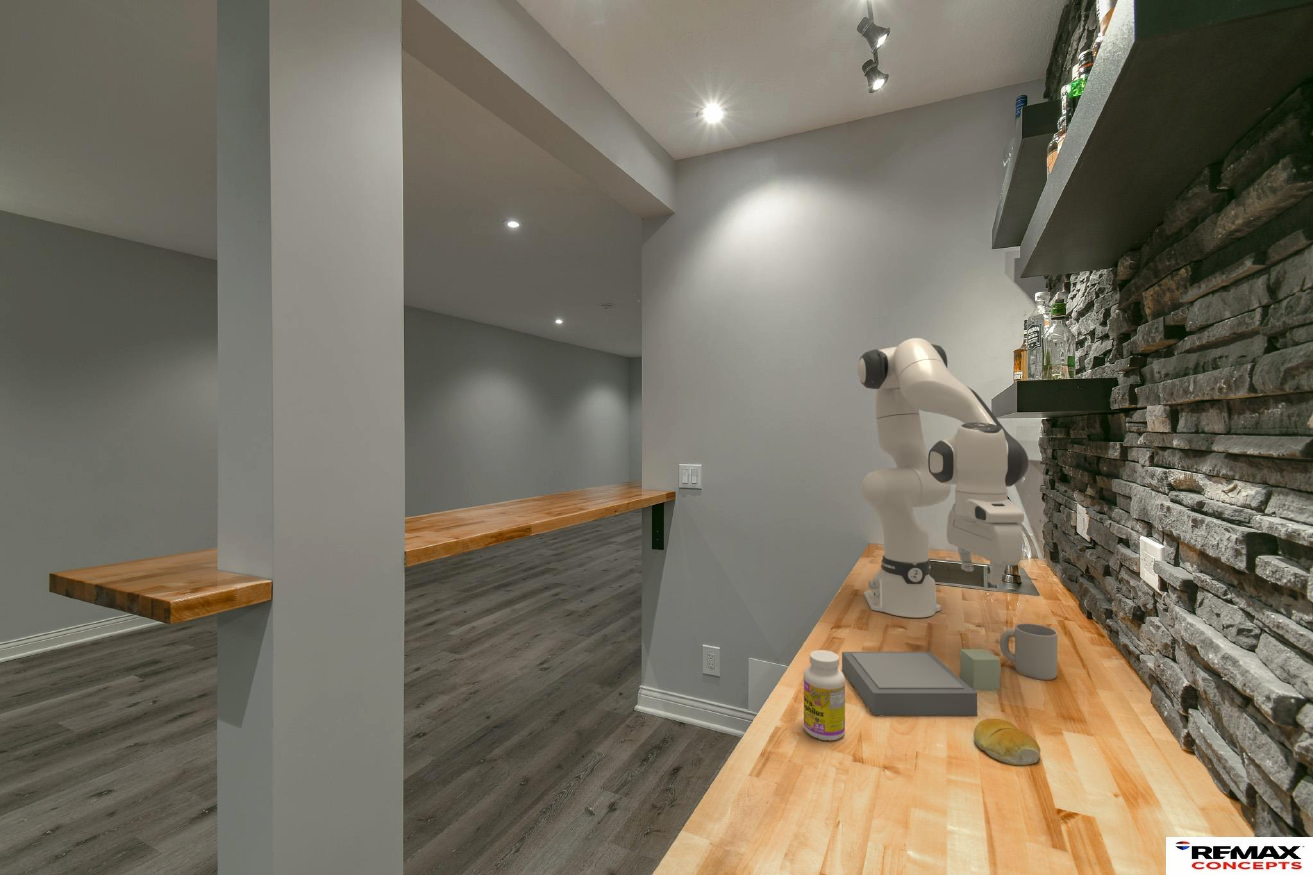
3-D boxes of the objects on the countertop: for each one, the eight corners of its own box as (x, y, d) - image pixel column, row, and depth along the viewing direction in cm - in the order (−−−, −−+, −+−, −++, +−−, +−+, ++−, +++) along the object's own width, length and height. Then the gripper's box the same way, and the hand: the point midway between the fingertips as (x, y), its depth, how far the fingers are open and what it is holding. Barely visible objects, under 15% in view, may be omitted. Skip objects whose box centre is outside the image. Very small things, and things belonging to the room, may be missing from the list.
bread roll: (1006, 732, 94) (1007, 708, 94) (1050, 764, 85) (1050, 738, 85) (960, 736, 93) (960, 712, 93) (1000, 769, 84) (1000, 742, 84)
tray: (842, 670, 117) (842, 650, 117) (929, 670, 117) (929, 650, 117) (873, 715, 99) (873, 691, 99) (977, 715, 99) (977, 691, 99)
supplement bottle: (795, 725, 96) (795, 651, 96) (826, 717, 99) (826, 644, 99) (821, 746, 90) (821, 666, 90) (854, 736, 93) (854, 659, 92)
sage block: (960, 678, 113) (960, 649, 113) (985, 678, 113) (985, 649, 113) (973, 690, 108) (973, 659, 108) (1000, 690, 108) (1000, 659, 108)
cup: (1054, 684, 111) (1054, 639, 110) (995, 669, 117) (996, 627, 117) (1059, 671, 116) (1059, 628, 116) (1003, 658, 123) (1003, 617, 122)
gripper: (938, 499, 120) (938, 563, 121) (994, 515, 100) (993, 592, 100) (968, 499, 120) (968, 563, 121) (1030, 514, 100) (1029, 592, 100)
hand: (980, 577), depth 110 cm, fingers open, 8 cm apart
